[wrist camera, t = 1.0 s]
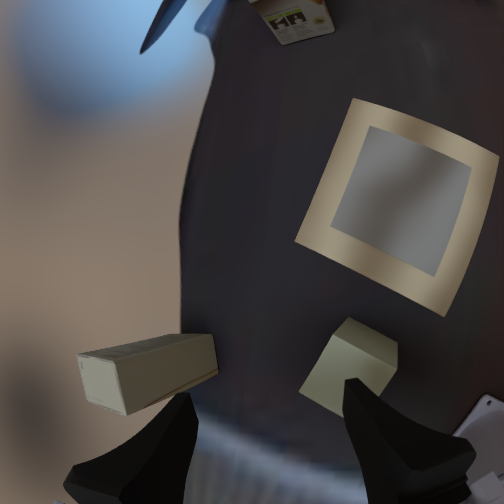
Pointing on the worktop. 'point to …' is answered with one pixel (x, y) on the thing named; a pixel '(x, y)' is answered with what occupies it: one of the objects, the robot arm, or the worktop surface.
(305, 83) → the worktop surface
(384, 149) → the base block
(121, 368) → the skincare box
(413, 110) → the worktop surface
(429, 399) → the worktop surface
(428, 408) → the worktop surface
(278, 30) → the coffee box
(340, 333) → the green block
